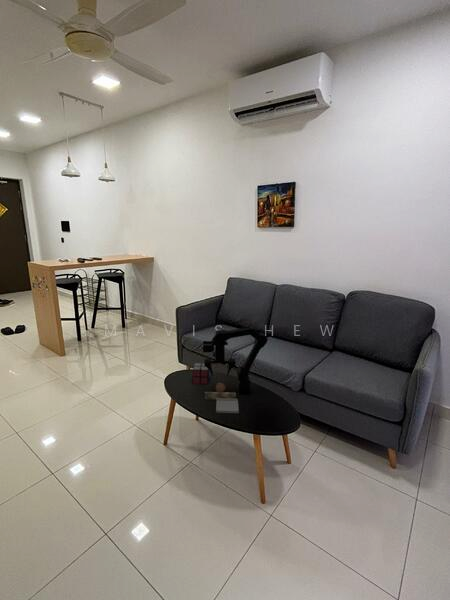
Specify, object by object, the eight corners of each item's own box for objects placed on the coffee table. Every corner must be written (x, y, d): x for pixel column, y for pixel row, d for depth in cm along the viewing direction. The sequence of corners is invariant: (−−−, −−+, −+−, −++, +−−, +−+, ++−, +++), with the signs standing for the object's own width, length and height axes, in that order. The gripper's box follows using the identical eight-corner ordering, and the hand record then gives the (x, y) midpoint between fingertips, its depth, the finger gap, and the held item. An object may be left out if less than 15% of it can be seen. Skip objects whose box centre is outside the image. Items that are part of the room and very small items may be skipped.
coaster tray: (237, 401, 174) (237, 398, 174) (238, 413, 162) (238, 410, 162) (216, 400, 174) (216, 398, 173) (216, 412, 162) (216, 410, 162)
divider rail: (235, 398, 176) (235, 392, 176) (235, 399, 175) (235, 393, 174) (205, 398, 176) (205, 391, 175) (204, 399, 175) (204, 393, 174)
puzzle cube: (207, 384, 193) (208, 370, 190) (192, 383, 193) (192, 369, 191) (209, 377, 202) (209, 363, 200) (194, 376, 202) (194, 362, 200)
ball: (225, 389, 186) (225, 380, 185) (225, 394, 181) (225, 385, 179) (215, 389, 186) (215, 380, 185) (215, 394, 181) (215, 385, 179)
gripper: (234, 346, 186) (234, 369, 189) (204, 346, 185) (205, 369, 189) (235, 353, 175) (235, 377, 179) (204, 353, 175) (204, 378, 178)
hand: (220, 375), depth 181 cm, fingers open, 9 cm apart
